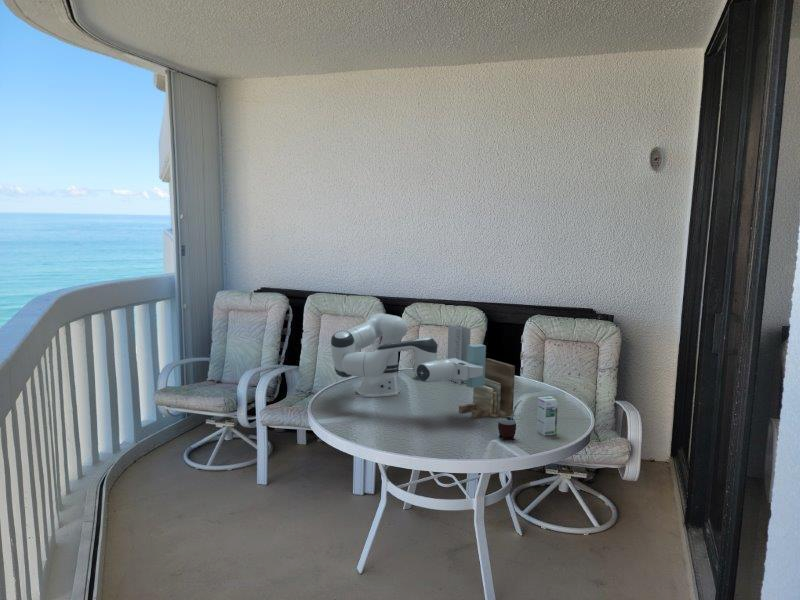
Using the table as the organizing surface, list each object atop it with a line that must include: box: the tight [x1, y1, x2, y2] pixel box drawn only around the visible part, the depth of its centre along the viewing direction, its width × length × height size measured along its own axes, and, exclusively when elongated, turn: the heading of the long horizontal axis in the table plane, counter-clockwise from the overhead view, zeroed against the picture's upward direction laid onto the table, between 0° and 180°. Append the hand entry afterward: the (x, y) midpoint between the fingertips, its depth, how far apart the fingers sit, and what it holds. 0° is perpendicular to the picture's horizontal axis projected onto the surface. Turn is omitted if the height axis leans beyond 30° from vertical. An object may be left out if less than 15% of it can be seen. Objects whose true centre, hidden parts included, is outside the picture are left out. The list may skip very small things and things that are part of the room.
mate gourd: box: [497, 399, 522, 441], centre depth 224 cm, size 8×8×15 cm
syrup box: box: [536, 396, 559, 437], centre depth 231 cm, size 6×6×14 cm
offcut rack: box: [458, 357, 516, 419], centre depth 257 cm, size 19×18×22 cm
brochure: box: [446, 324, 472, 385], centre depth 312 cm, size 14×6×30 cm, turn 25°
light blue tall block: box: [465, 343, 487, 389], centre depth 253 cm, size 7×4×18 cm, turn 122°
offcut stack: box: [472, 378, 501, 414], centre depth 259 cm, size 5×13×13 cm, turn 31°
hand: (477, 365), depth 253 cm, fingers closed on light blue tall block, 4 cm apart
